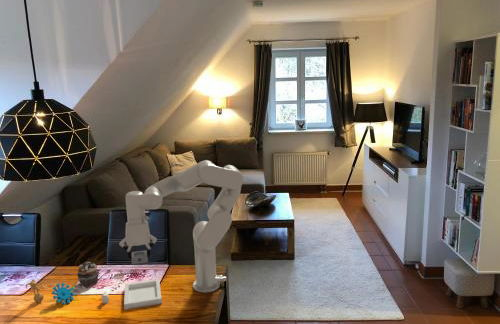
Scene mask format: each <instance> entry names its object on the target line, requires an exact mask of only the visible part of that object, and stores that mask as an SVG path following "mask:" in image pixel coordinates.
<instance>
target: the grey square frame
mask: <svg viewBox="0 0 500 324" xmlns="http://www.w3.org/2000/svg"><path fill="white" fill-rule="evenodd" d="M131 253H132V257H131V260H130V261H131V265H137V264H145V263H148V262H149V260H148V259H149V258H148V256H147V249H145V250H138V251H137V250H136V251H131Z"/></svg>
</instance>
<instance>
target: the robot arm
mask: <svg viewBox="0 0 500 324" xmlns="http://www.w3.org/2000/svg"><path fill="white" fill-rule="evenodd" d="M244 180H245V179H244V175H243V173H242V172H241V171H240V170H239V169H238V168H237V167H235V166H234V165H231V164H227V165H224V166H223V167H221V166H217V165H215V163H213V162H212V161H211V160H208V159H205V160H202V161H200V162H198V163H196V164H194V165H192V166H190V167H188V168H186V169H185V170H183V171H181V172H180V173H177V174H174V175H171V176H169V177H166V178H163V179H161V180H159V181H157V182H155V183H153V184H152V185H150V186H148V187H147V188H146V189H145V191H144V193H143V192H142V191H139V190H133V191H129V192H127V193H126V194H125V206H126V207H125V208H126V217H127V222H126V223H125V237H124V238H123V239H122V240H120V242H119V243H118V245H119V246H120V247H121V248H122V249H124V250H125V251H126V252H127V256H128V257H127V258H128V259H129V261H131V257H132V253H131V252H132V247H134V246H136V247H137V246H144V245H145V247H146V250H147V256H148V259H149V258H150V256H151V249H152V247H153V246H154V245H155V244H156V243H157V240H158V239H157V237H155V236H154V235H152V234H151V233H150V232H151V231H150V226H149V222H148V220H150V217H149V215H146V210H157V209H160V208H161V207H162V204H163V198H164V197H166V196H168V195H170V194H173V193H176V192H188V191H190V190H192V189H193V188H195V187H197V186H199V185H201V184H203V183H205V184H207V185H210V186H214V187H219V188H221V190H220V192H219V194H218V195H217V197H216V199H215V200H214V201H213V202H212V204H211V205H210V207H209V208H208V210H207V218H208V221H207V220H202V221H198V222H197V223H196V224H195V225H194V227H193V229H192V238H193V247H194V248H193V249H194V266H195V280H194V282H193V284H192V288H193V290H194V291H196V292H198V293H201V294H202V293H204V294H207V293H211V292H215V291H217V290H218V289H219V288H220V285H221V282H227V277H226V276H223V274H220V275H217V262H216V260H217V259H216V247H218V246H217V245H219V244H220V242H221V240H222V239H223V237H224V236H225V235H226V233H227V232H228V230H229V229H230V227H231V225H232V222H233V217H232V214H231V211H232V209H233V208H234V206H235V205H236V204H237V202H238V199H239V198H240V195H241V193H242V192H241V191H242V185H243V184H244ZM151 240H152V241H151Z"/></svg>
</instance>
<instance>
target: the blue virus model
mask: <svg viewBox="0 0 500 324" xmlns="http://www.w3.org/2000/svg"><path fill="white" fill-rule="evenodd" d="M65 285H66V283H64V282H61V284H60V283H57V284H56V286H55V285H54V287H53V288H52V290H53V291H52V292H51V294H52V295H53V296H52V299H53V300H56V303H60V302H61V304H62V305H65V304H70V303H71V301H73V300H74V296H75V294H76V293H75V292H73V291H74V290H75V286H72V287H70V286H71V285H69V284H67V285H66V286H65ZM62 300H63V301H62Z"/></svg>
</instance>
